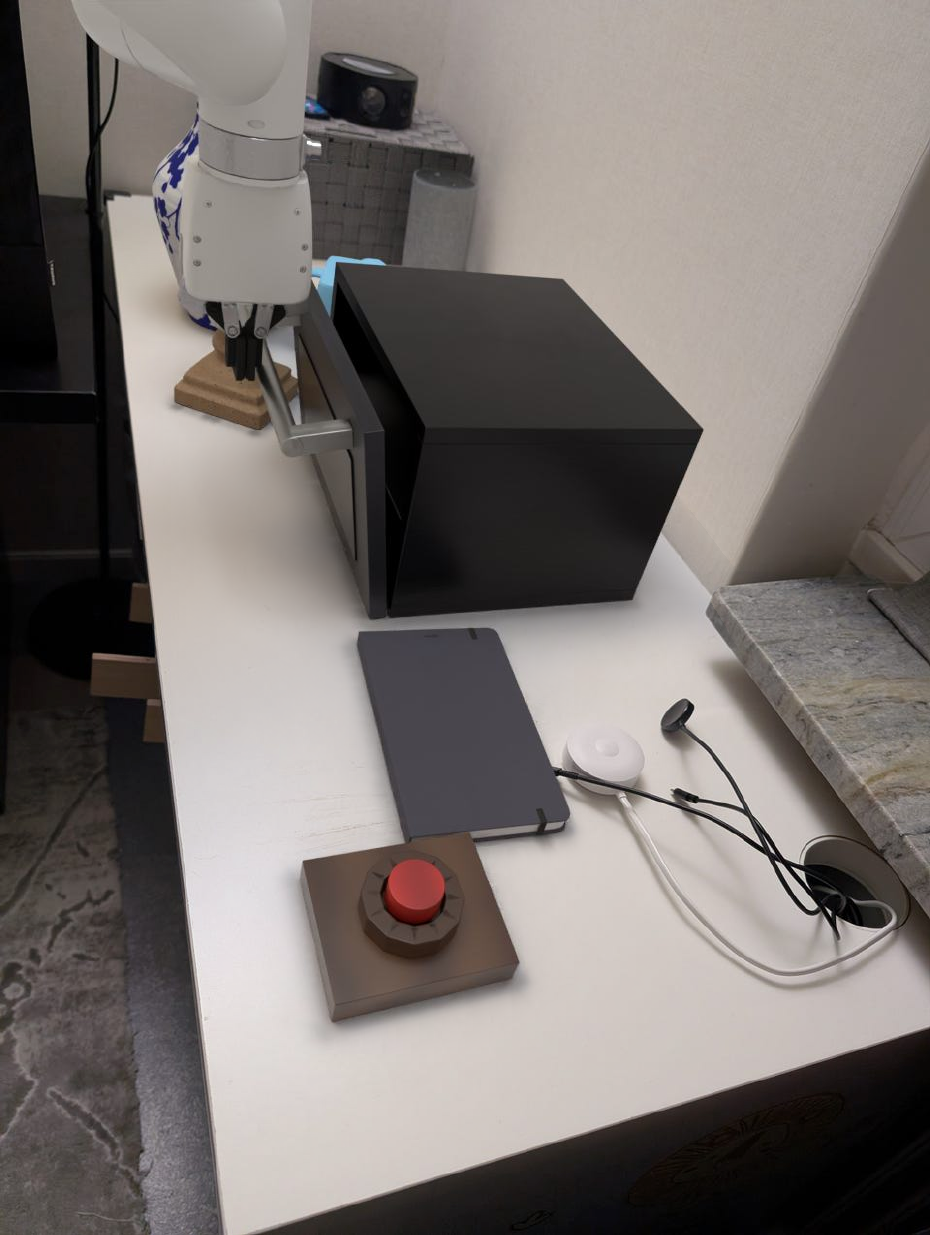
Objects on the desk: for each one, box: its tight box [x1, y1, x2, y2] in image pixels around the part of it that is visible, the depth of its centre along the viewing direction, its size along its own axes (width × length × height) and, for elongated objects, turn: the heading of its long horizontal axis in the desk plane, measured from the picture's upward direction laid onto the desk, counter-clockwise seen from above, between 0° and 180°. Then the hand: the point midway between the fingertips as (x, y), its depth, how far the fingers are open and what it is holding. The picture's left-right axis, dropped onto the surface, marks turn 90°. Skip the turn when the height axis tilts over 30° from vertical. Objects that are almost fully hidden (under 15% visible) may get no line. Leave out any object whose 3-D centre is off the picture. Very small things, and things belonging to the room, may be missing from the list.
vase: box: [151, 94, 218, 331], centre depth 112 cm, size 19×19×30 cm
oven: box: [330, 262, 705, 619], centre depth 91 cm, size 26×32×20 cm
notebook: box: [356, 627, 571, 843], centre depth 73 cm, size 13×2×21 cm
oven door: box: [238, 278, 388, 620], centre depth 85 cm, size 8×32×20 cm, turn 19°
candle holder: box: [173, 303, 299, 430], centre depth 99 cm, size 11×11×24 cm
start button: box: [385, 859, 445, 924], centre depth 57 cm, size 4×4×2 cm
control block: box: [299, 832, 520, 1022], centre depth 58 cm, size 12×10×4 cm
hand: (242, 373), depth 79 cm, fingers closed
